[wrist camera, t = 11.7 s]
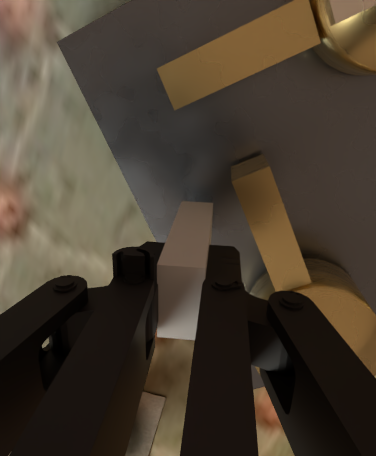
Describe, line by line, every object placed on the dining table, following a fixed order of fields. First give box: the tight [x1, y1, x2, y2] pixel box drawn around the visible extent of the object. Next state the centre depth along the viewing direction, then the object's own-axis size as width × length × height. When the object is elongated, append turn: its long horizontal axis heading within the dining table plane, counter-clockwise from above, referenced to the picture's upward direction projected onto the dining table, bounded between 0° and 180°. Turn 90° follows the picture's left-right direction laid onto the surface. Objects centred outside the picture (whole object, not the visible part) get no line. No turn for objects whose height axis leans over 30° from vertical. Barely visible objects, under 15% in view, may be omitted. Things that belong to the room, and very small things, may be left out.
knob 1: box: [157, 0, 376, 111], centre depth 13 cm, size 12×6×4 cm, turn 114°
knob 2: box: [231, 154, 376, 376], centre depth 17 cm, size 12×6×4 cm, turn 24°
